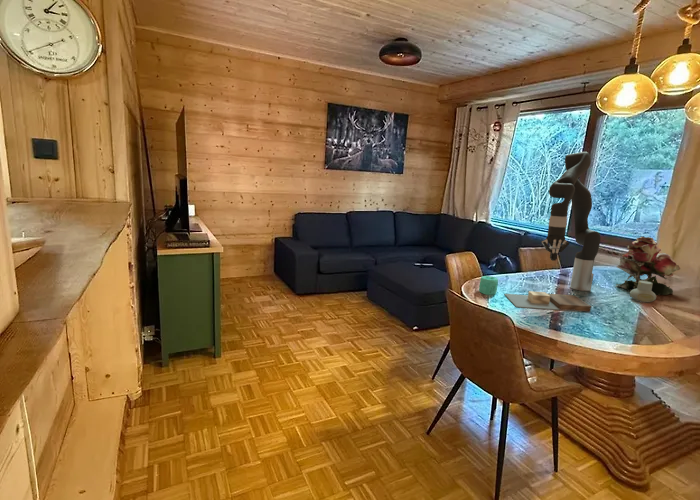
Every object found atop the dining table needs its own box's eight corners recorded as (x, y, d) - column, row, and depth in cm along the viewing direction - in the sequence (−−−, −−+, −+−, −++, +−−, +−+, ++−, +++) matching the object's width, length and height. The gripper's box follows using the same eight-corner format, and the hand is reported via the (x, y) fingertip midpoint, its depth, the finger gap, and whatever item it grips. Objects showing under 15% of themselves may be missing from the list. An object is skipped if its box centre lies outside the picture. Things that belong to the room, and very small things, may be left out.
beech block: (544, 299, 195) (545, 292, 194) (549, 304, 189) (550, 296, 188) (527, 298, 196) (528, 291, 195) (532, 302, 190) (533, 295, 189)
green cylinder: (478, 293, 203) (480, 278, 201) (481, 289, 210) (482, 274, 208) (494, 296, 199) (496, 281, 198) (496, 292, 206) (498, 277, 205)
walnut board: (573, 300, 199) (574, 295, 198) (590, 311, 183) (591, 306, 183) (545, 298, 200) (546, 293, 199) (559, 309, 184) (559, 304, 184)
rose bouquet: (680, 294, 217) (692, 241, 211) (642, 297, 209) (654, 242, 202) (635, 280, 241) (645, 232, 235) (599, 283, 232) (608, 233, 226)
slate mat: (543, 297, 201) (543, 296, 201) (559, 310, 183) (560, 309, 183) (504, 294, 203) (504, 293, 202) (516, 307, 184) (516, 306, 184)
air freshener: (631, 301, 201) (635, 282, 199) (627, 296, 208) (630, 278, 206) (657, 304, 197) (661, 285, 195) (651, 300, 205) (655, 281, 203)
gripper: (567, 224, 192) (563, 258, 195) (540, 223, 192) (536, 258, 196) (575, 226, 184) (570, 262, 188) (546, 226, 185) (542, 261, 189)
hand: (553, 260), depth 192 cm, fingers closed
